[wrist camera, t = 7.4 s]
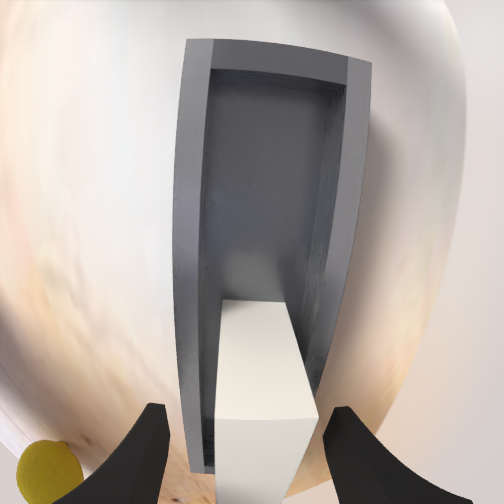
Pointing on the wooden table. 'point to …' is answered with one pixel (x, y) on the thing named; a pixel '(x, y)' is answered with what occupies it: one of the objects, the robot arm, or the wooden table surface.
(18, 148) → the wooden table surface
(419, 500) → the robot arm
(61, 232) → the wooden table surface
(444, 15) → the wooden table surface
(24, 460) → the lemon
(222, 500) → the door panel
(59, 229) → the wooden table surface
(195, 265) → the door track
